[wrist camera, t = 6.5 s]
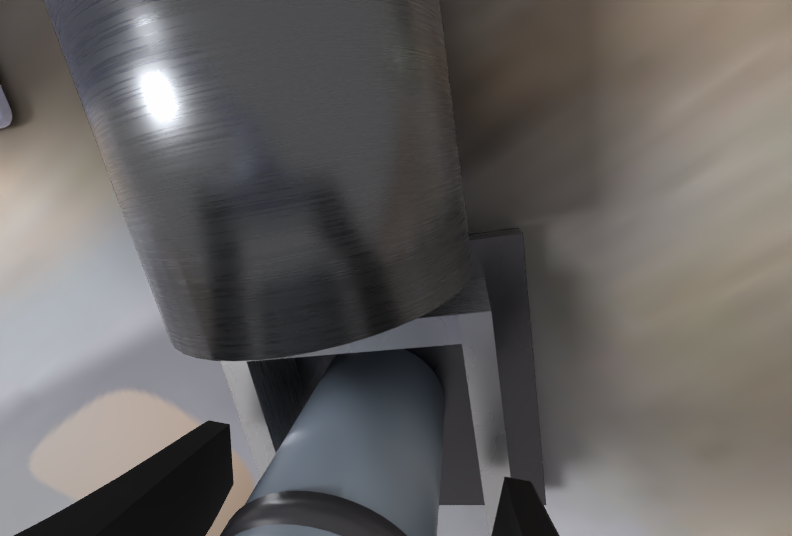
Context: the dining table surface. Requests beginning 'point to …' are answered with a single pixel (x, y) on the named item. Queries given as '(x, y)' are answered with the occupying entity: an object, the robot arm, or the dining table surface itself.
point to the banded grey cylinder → (356, 455)
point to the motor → (311, 209)
